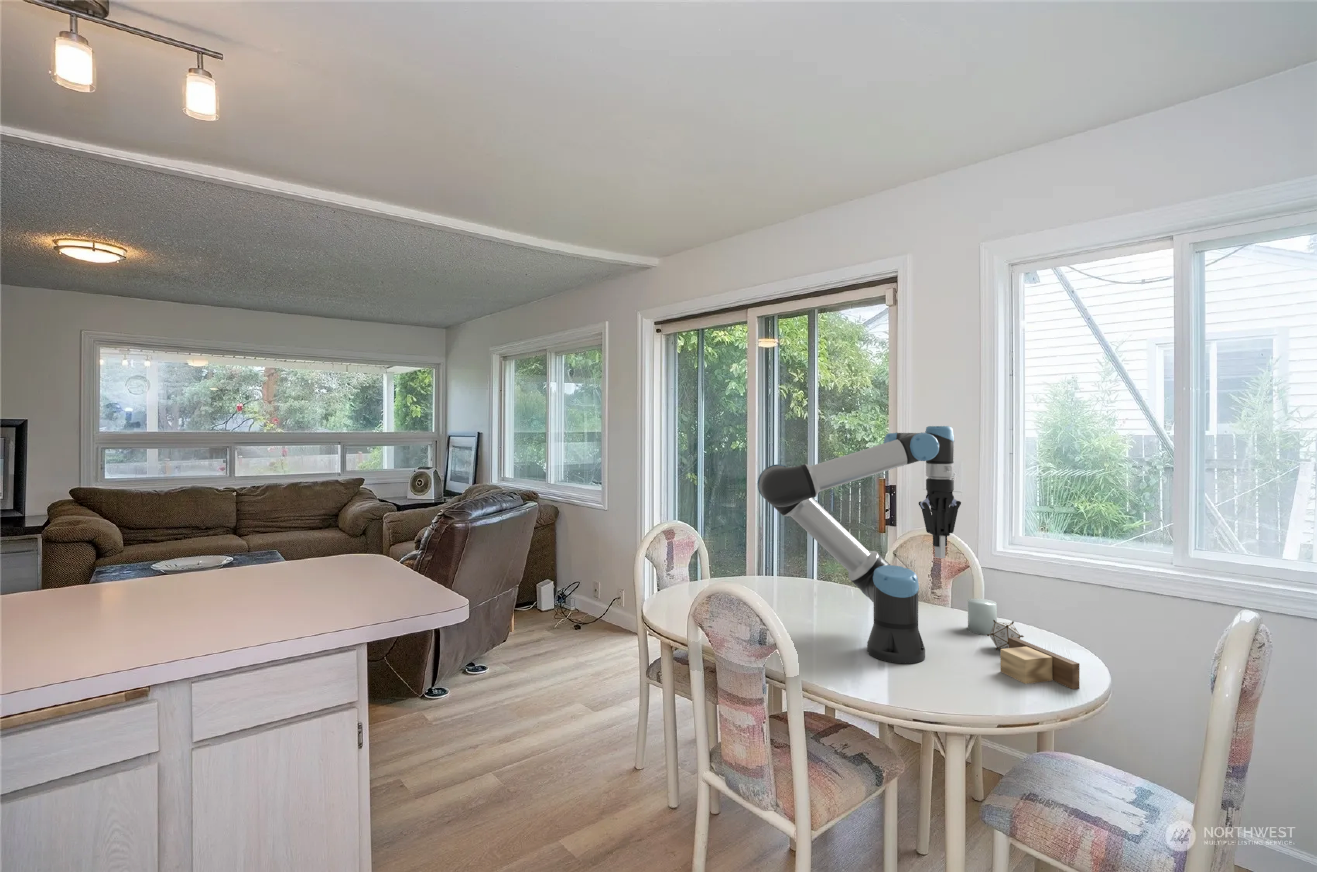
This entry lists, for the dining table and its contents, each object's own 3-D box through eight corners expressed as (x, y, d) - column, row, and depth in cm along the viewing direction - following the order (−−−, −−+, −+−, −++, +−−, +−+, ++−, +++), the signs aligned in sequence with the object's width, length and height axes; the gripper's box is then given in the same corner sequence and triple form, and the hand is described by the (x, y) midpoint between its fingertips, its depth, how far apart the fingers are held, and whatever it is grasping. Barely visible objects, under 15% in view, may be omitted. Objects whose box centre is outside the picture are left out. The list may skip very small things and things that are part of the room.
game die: (1007, 661, 180) (1025, 631, 181) (1015, 660, 172) (1033, 629, 173) (977, 641, 183) (994, 612, 185) (983, 640, 176) (1001, 609, 177)
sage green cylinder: (980, 635, 191) (980, 606, 190) (962, 627, 198) (962, 599, 198) (1002, 633, 192) (1002, 604, 192) (983, 626, 200) (983, 597, 200)
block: (1025, 684, 154) (1025, 659, 154) (1000, 672, 162) (1000, 649, 162) (1052, 681, 156) (1052, 657, 156) (1026, 669, 164) (1026, 646, 164)
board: (1072, 689, 151) (1072, 664, 151) (1008, 659, 170) (1008, 637, 170) (1079, 688, 151) (1079, 663, 151) (1015, 659, 171) (1014, 637, 171)
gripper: (928, 479, 182) (928, 561, 182) (967, 478, 185) (967, 558, 185) (912, 477, 189) (912, 556, 189) (950, 476, 192) (950, 553, 192)
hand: (940, 557), depth 187 cm, fingers closed
